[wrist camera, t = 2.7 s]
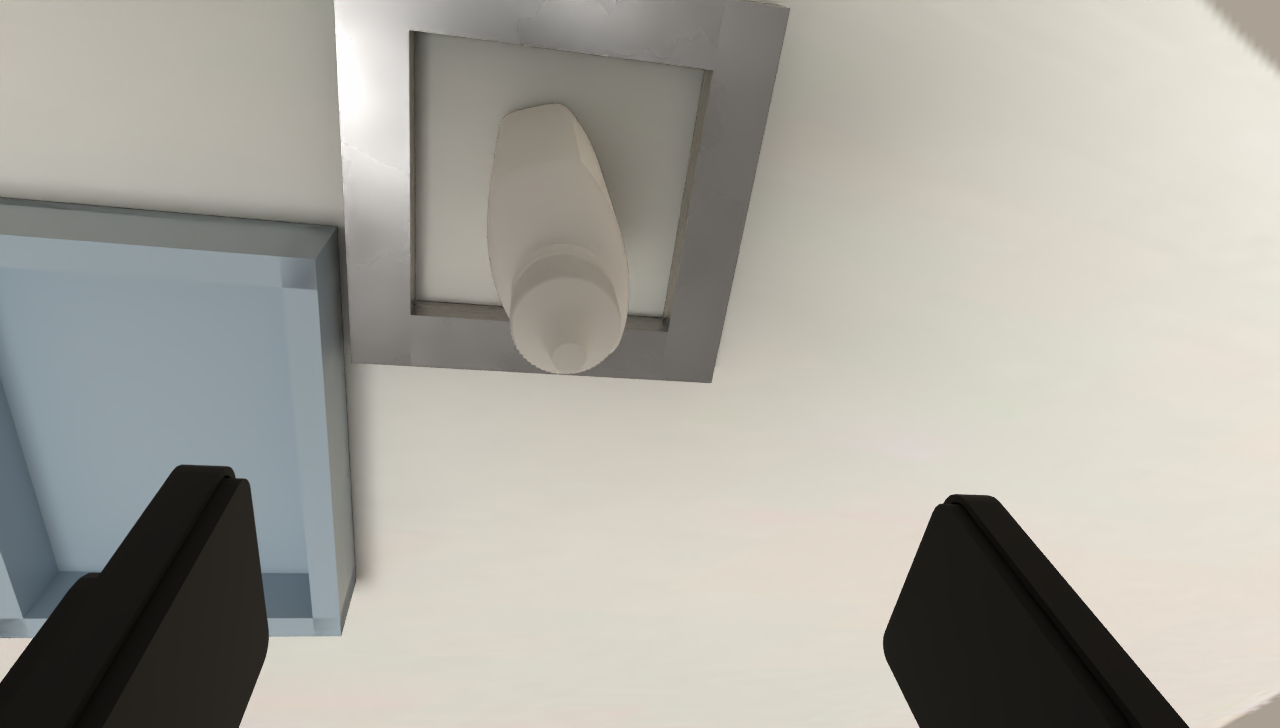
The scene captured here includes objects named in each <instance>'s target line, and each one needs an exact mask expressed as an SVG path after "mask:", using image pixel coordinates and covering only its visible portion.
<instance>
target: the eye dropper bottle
mask: <svg viewBox="0 0 1280 728" xmlns="http://www.w3.org/2000/svg"><path fill="white" fill-rule="evenodd" d="M487 238H488V251H489V260H490V265H491V270H492V275H493V279H494V283H495V286H496V289H497V292H498V295H499V298H500V300H501V303H502V305H503V307H504V309H505V311H506V313H507V315H508V317H509V319H510V330H511V335H512V340H513V341H514V345H516V349H517V350H519V353H520V354H522V355H523V358H525V359H527V361H528V362H531V365H536V367H537V368H540V369H541V370H545V371H546V372H551V373H556V374H560V373H561V374H571V373H572V374H575V373H580V372H581V371H586V370H587V369H591V367H595V366H596V365H597V364H600V362H601V361H604V358H606V357H608V355H609V354H611V353H612V352H613V351H614V350H615V349H616V347H617V346H618V345H619V343H620V340H621V337H622V335H623V331H624V328H625V324H626V319H627V313H628V305H629V272H628V263H627V257H626V252H625V248H624V244H623V240H622V236H621V233H620V230H619V226H618V223H617V220H616V216H615V213H614V210H613V207H612V204H611V200H610V197H609V194H608V191H607V188H606V185H605V181H604V178H603V175H602V172H601V169H600V166H599V163H598V160H597V157H596V155H595V152H594V150H593V148H592V145H591V143H590V141H589V139H588V137H587V135H586V134H585V132H584V130H583V128H582V127H581V125H580V124H579V122H578V121H577V119H576V118H575V116H574V115H573V114H572V113H571V111H570V110H569V109H568V108H566V107H565V106H563V105H562V104H553V103H552V104H547V105H541V106H536V107H532V108H527V109H522V110H518V111H514V112H512V113H510V114H508V115H506V116H505V117H504V118H503V120H502V122H501V124H500V127H499V132H498V137H497V144H496V150H495V156H494V163H493V170H492V177H491V184H490V193H489V202H488V216H487Z"/></svg>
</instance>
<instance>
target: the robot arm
mask: <svg viewBox="0 0 1280 728" xmlns="http://www.w3.org/2000/svg"><path fill="white" fill-rule="evenodd" d="M268 641H269V628H268V620H267V612H266V605H265V597H264V589H263V581H262V573H261V565H260V557H259V549H258V542H257V534H256V526H255V518H254V510H253V502H252V494H251V487H250V483H249V481H248V480H247V479H244V478H236V477H235V473H234V471H233V469H232V468H231V467H229V466H210V465H184V464H181V465H179V466H177V467H176V468H175V469H174V470H173V471H172V472H171V474H170V475H169V476H168V478H167V479H166V481H165V482H164V483H163V485H162V486H161V488H160V489H159V491H158V492H157V493H156V495H155V496H154V498H153V499H152V500H151V502H150V503H149V505H148V506H147V508H146V509H145V510H144V512H143V513H142V515H141V516H140V517H139V519H138V520H137V522H136V523H135V525H134V526H133V527H132V529H131V530H130V532H129V533H128V534H127V536H126V537H125V539H124V540H123V542H122V543H121V544H120V546H119V547H118V549H117V550H116V552H115V553H114V554H113V556H112V557H111V559H110V560H109V561H108V563H107V564H106V566H105V567H104V569H103V570H102V571H101V573H88V574H86V575H84V576H82V577H80V578H79V579H78V580H77V581H76V582H75V583H74V585H73V586H72V587H71V588H70V589H69V590H68V592H67V593H66V594H65V596H64V597H63V598H62V600H61V601H60V603H59V604H58V605H57V607H56V608H55V609H54V611H53V612H52V613H51V615H50V616H49V617H48V619H47V620H46V622H45V623H44V624H43V626H42V627H41V628H40V630H39V631H38V632H37V634H36V635H35V636H34V638H33V639H32V641H31V642H30V643H29V645H28V646H27V647H26V649H25V650H24V651H23V653H22V654H21V655H20V657H19V658H18V660H17V661H16V662H15V664H14V665H13V666H12V668H11V669H10V670H9V672H8V673H7V675H6V676H5V677H4V679H3V680H2V681H1V683H0V728H239V725H240V723H241V720H242V718H243V715H244V713H245V710H246V707H247V705H248V702H249V700H250V697H251V694H252V692H253V689H254V687H255V684H256V681H257V679H258V676H259V674H260V671H261V668H262V666H263V663H264V660H265V657H266V653H267V648H268ZM883 649H884V654H885V657H886V660H887V662H888V664H889V666H890V668H891V670H892V672H893V674H894V677H895V679H896V681H897V683H898V685H899V687H900V689H901V691H902V693H903V695H904V697H905V699H906V701H907V703H908V705H909V707H910V709H911V711H912V713H913V715H914V717H915V719H916V721H917V723H918V725H919V727H920V728H1189V727H1188V725H1187V724H1186V723H1185V722H1184V721H1183V719H1182V718H1181V717H1180V716H1179V715H1178V713H1177V712H1176V711H1175V710H1174V709H1173V708H1172V706H1171V705H1170V704H1169V703H1168V702H1167V700H1166V699H1165V698H1164V697H1163V696H1162V694H1161V693H1160V692H1159V691H1158V690H1157V689H1156V687H1155V686H1154V685H1153V684H1152V683H1151V681H1150V680H1149V679H1148V678H1147V677H1146V675H1145V674H1144V673H1143V672H1142V671H1141V669H1140V668H1139V667H1138V666H1137V665H1136V664H1135V662H1134V661H1133V660H1132V659H1131V658H1130V656H1129V655H1128V654H1127V653H1126V652H1125V650H1124V649H1123V648H1122V647H1121V646H1120V644H1119V643H1118V642H1117V641H1116V640H1115V639H1114V637H1113V636H1112V635H1111V634H1110V633H1109V631H1108V630H1107V629H1106V628H1105V627H1104V625H1103V624H1102V623H1101V622H1100V621H1099V620H1098V618H1097V617H1096V616H1095V615H1094V614H1093V612H1092V611H1091V610H1090V609H1089V608H1088V606H1087V605H1086V604H1085V603H1084V602H1083V600H1082V599H1081V598H1080V597H1079V596H1078V595H1077V593H1076V592H1075V591H1074V590H1073V589H1072V587H1071V586H1070V585H1069V584H1068V583H1067V581H1066V580H1065V579H1064V578H1063V577H1062V576H1061V574H1060V573H1059V572H1058V571H1057V570H1056V568H1055V567H1054V566H1053V565H1052V564H1051V562H1050V561H1049V560H1048V559H1047V558H1046V556H1045V555H1044V554H1043V553H1042V552H1041V551H1040V549H1039V548H1038V547H1037V546H1036V545H1035V543H1034V542H1033V541H1032V540H1031V539H1030V537H1029V536H1028V535H1027V534H1026V533H1025V531H1024V530H1023V529H1022V528H1021V527H1020V526H1019V524H1018V523H1017V522H1016V521H1015V520H1014V518H1013V517H1012V516H1011V515H1010V514H1009V512H1008V511H1007V510H1006V509H1005V508H1004V507H1003V505H1002V504H1001V503H1000V502H999V501H998V500H997V499H996V498H995V497H992V496H988V495H962V494H955V495H950V496H949V497H948V498H947V499H946V500H945V502H944V503H943V504H939V505H938V506H937V507H935V509H934V511H933V513H932V516H931V518H930V521H929V523H928V526H927V528H926V531H925V533H924V536H923V538H922V541H921V543H920V546H919V548H918V551H917V553H916V556H915V558H914V561H913V563H912V566H911V568H910V570H909V573H908V575H907V578H906V580H905V583H904V585H903V588H902V590H901V593H900V595H899V598H898V600H897V603H896V605H895V608H894V610H893V613H892V615H891V618H890V620H889V623H888V625H887V628H886V630H885V633H884V637H883Z"/></svg>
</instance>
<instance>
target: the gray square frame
mask: <svg viewBox="0 0 1280 728" xmlns="http://www.w3.org/2000/svg"><path fill="white" fill-rule="evenodd" d="M334 11H335V32H336V52H337V73H338V94H339V115H340V136H341V157H342V178H343V199H344V219H345V240H346V261H347V282H348V303H349V324H350V345H351V363H364V364H382V365H399V366H417V367H435V368H453V369H470V370H488V371H506V372H524V373H541V374H556V373H551V372H546V371H545V370H541V369H540V368H537V367H536V365H531V362H528V361H527V359H525V358H523V355H522V354H520V353H519V350H517V349H516V345H514V341H513V340H512V335H511V330H510V319H509V317H508V315H507V313H506V311H505V309H504V307H498V306H484V305H470V304H456V303H442V302H428V301H415V69H414V31H421V32H428V33H436V34H443V35H451V36H458V37H466V38H473V39H481V40H488V41H496V42H503V43H511V44H518V45H526V46H533V47H541V48H548V49H556V50H563V51H571V52H578V53H586V54H593V55H601V56H608V57H616V58H623V59H631V60H639V61H646V62H654V63H661V64H669V65H676V66H684V67H691V68H699V69H705V70H704V76H703V82H702V88H701V94H700V100H699V106H698V112H697V118H696V124H695V130H694V135H693V141H692V147H691V153H690V159H689V165H688V171H687V177H686V183H685V189H684V195H683V201H682V207H681V213H680V219H679V225H678V231H677V237H676V243H675V249H674V255H673V260H672V266H671V272H670V278H669V284H668V290H667V296H666V302H665V308H664V314H663V318H652V317H638V316H627V319H626V324H625V328H624V331H623V335H622V337H621V340H620V343H619V345H618V346H617V347H616V349H615V350H614V351H613V352H612V353H611V354H609V355H608V357H606V358H604V361H601V362H600V364H597V365H596V366H595V367H591V369H587V370H586V371H581V372H580V373H575V374H572V373H571V374H561V373H560V374H559V375H577V376H595V377H613V378H630V379H648V380H666V381H684V382H701V383H711V381H712V377H713V372H714V367H715V362H716V358H717V353H718V348H719V344H720V339H721V334H722V329H723V325H724V320H725V315H726V310H727V306H728V301H729V296H730V291H731V287H732V282H733V277H734V272H735V268H736V263H737V258H738V253H739V249H740V244H741V239H742V234H743V230H744V225H745V220H746V215H747V211H748V206H749V201H750V196H751V192H752V187H753V182H754V177H755V173H756V168H757V163H758V158H759V154H760V149H761V144H762V139H763V135H764V130H765V125H766V120H767V116H768V111H769V106H770V101H771V97H772V92H773V87H774V82H775V78H776V73H777V68H778V63H779V59H780V54H781V49H782V45H783V40H784V35H785V30H786V26H787V21H788V16H789V11H790V8H786V7H782V6H778V5H772V4H765V3H759V2H752V1H745V0H334Z"/></svg>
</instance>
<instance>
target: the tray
mask: <svg viewBox="0 0 1280 728" xmlns="http://www.w3.org/2000/svg"><path fill="white" fill-rule="evenodd" d="M181 464H184V465H210V466H229V467H231V468H232V469H233V471H234V473H235V477H236V478H244V479H247V480H248V481H249V483H250V487H251V494H252V502H253V510H254V518H255V526H256V534H257V542H258V549H259V557H260V565H261V573H262V581H263V589H264V597H265V605H266V612H267V620H268V628H269V637H278V636H341V635H342V631H343V627H344V624H345V620H346V616H347V612H348V609H349V605H350V601H351V598H352V594H353V590H354V587H355V583H356V571H355V552H354V533H353V515H352V496H351V477H350V458H349V439H348V420H347V401H346V382H345V363H344V344H343V325H342V306H341V287H340V269H339V250H338V231H337V227H336V226H324V225H313V224H301V223H290V222H278V221H267V220H255V219H244V218H232V217H221V216H209V215H197V214H186V213H174V212H163V211H151V210H140V209H128V208H117V207H105V206H94V205H82V204H71V203H59V202H47V201H36V200H24V199H13V198H1V197H0V638H34V636H35V635H36V634H37V632H38V631H39V630H40V628H41V627H42V626H43V624H44V623H45V622H46V620H47V619H48V617H49V616H50V615H51V613H52V612H53V611H54V609H55V608H56V607H57V605H58V604H59V603H60V601H61V600H62V598H63V597H64V596H65V594H66V593H67V592H68V590H69V589H70V588H71V587H72V586H73V585H74V583H75V582H76V581H77V580H78V579H79V578H80V577H82V576H84V575H86V574H88V573H101V571H102V570H103V569H104V567H105V566H106V564H107V563H108V561H109V560H110V559H111V557H112V556H113V554H114V553H115V552H116V550H117V549H118V547H119V546H120V544H121V543H122V542H123V540H124V539H125V537H126V536H127V534H128V533H129V532H130V530H131V529H132V527H133V526H134V525H135V523H136V522H137V520H138V519H139V517H140V516H141V515H142V513H143V512H144V510H145V509H146V508H147V506H148V505H149V503H150V502H151V500H152V499H153V498H154V496H155V495H156V493H157V492H158V491H159V489H160V488H161V486H162V485H163V483H164V482H165V481H166V479H167V478H168V476H169V475H170V474H171V472H172V471H173V470H174V469H175V468H176V467H177V466H179V465H181Z"/></svg>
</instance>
